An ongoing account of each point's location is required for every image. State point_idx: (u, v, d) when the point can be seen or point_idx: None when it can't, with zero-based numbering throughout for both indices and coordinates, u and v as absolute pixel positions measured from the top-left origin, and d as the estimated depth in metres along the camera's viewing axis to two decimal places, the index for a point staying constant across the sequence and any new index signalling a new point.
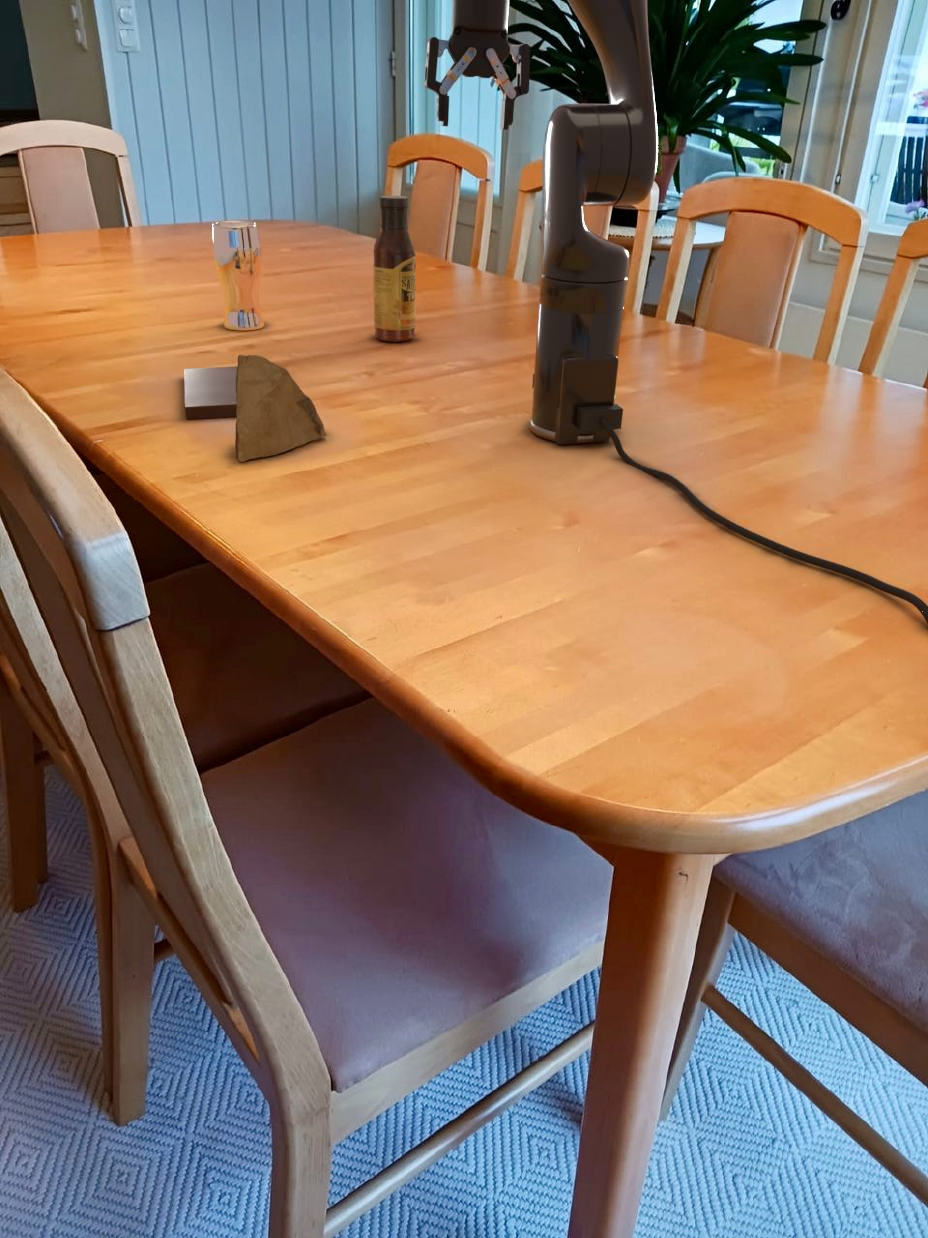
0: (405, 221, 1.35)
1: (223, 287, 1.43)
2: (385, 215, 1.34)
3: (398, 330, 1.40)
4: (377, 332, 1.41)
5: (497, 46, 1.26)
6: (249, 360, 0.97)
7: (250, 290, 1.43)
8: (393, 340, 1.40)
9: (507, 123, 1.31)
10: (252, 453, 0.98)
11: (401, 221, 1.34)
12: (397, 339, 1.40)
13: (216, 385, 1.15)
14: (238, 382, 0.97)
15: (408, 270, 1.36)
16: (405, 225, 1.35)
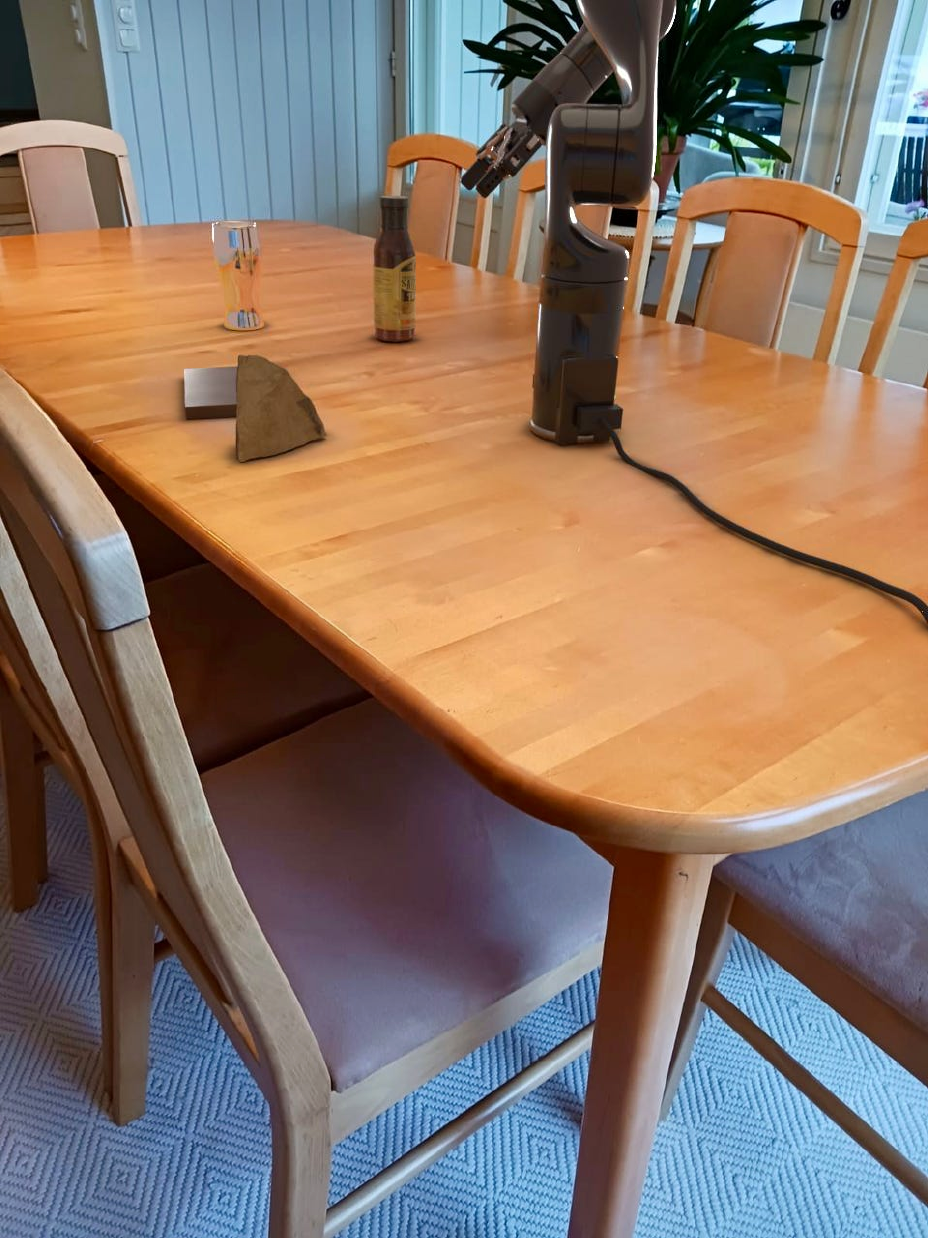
0: (405, 221, 1.35)
1: (223, 287, 1.43)
2: (385, 215, 1.34)
3: (398, 330, 1.40)
4: (377, 332, 1.41)
5: (519, 130, 1.31)
6: (249, 360, 0.97)
7: (250, 290, 1.43)
8: (393, 340, 1.40)
9: (478, 182, 1.31)
10: (252, 453, 0.98)
11: (401, 221, 1.34)
12: (397, 339, 1.40)
13: (216, 385, 1.15)
14: (238, 382, 0.97)
15: (408, 270, 1.36)
16: (405, 225, 1.35)
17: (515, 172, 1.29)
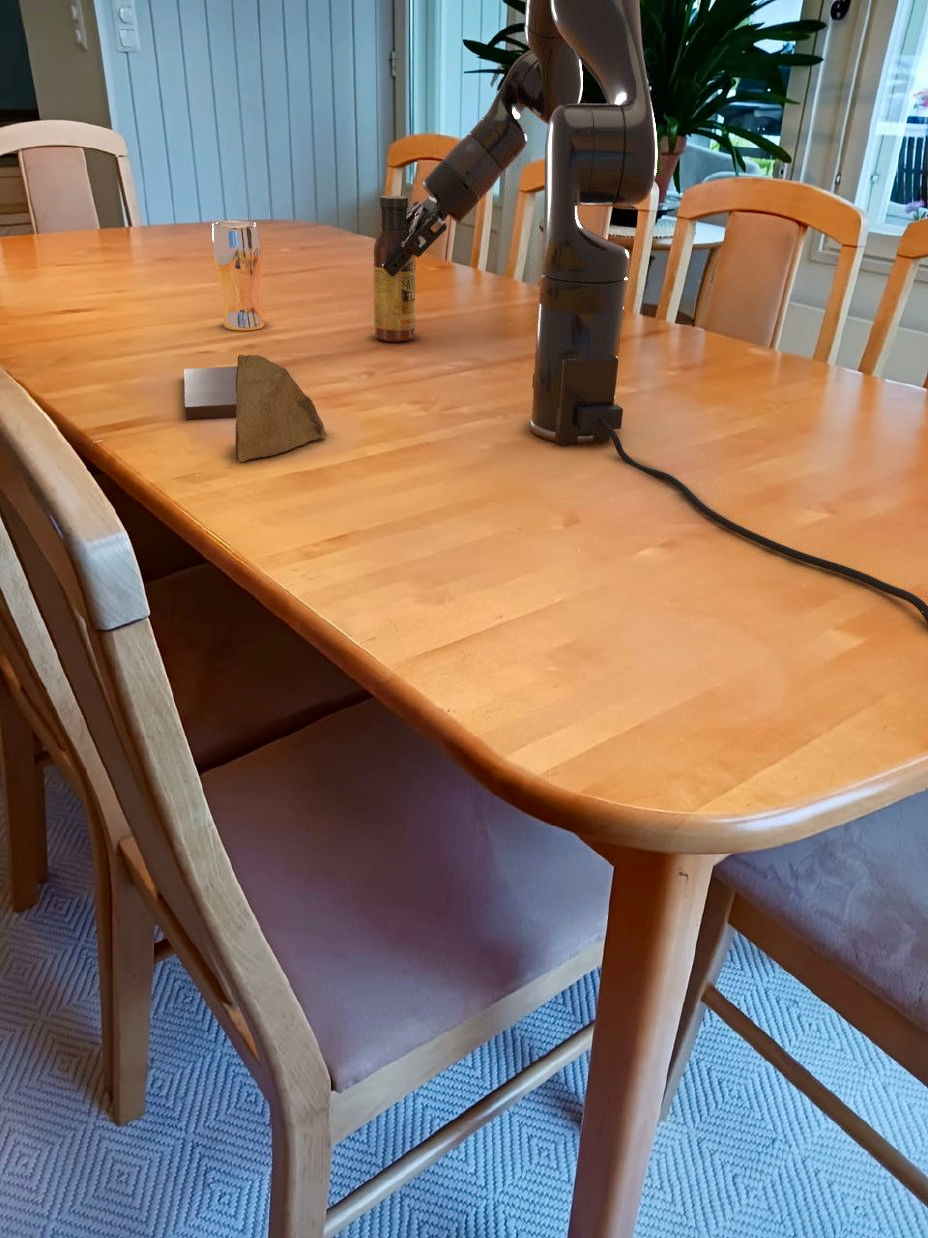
0: (405, 221, 1.35)
1: (223, 287, 1.43)
2: (385, 215, 1.34)
3: (398, 330, 1.40)
4: (377, 332, 1.41)
5: (430, 208, 1.33)
6: (249, 360, 0.97)
7: (250, 290, 1.43)
8: (393, 340, 1.40)
9: (385, 262, 1.34)
10: (252, 453, 0.98)
11: (401, 221, 1.34)
12: (397, 339, 1.40)
13: (216, 385, 1.15)
14: (238, 382, 0.97)
15: (408, 270, 1.36)
16: (405, 225, 1.35)
17: (419, 253, 1.32)
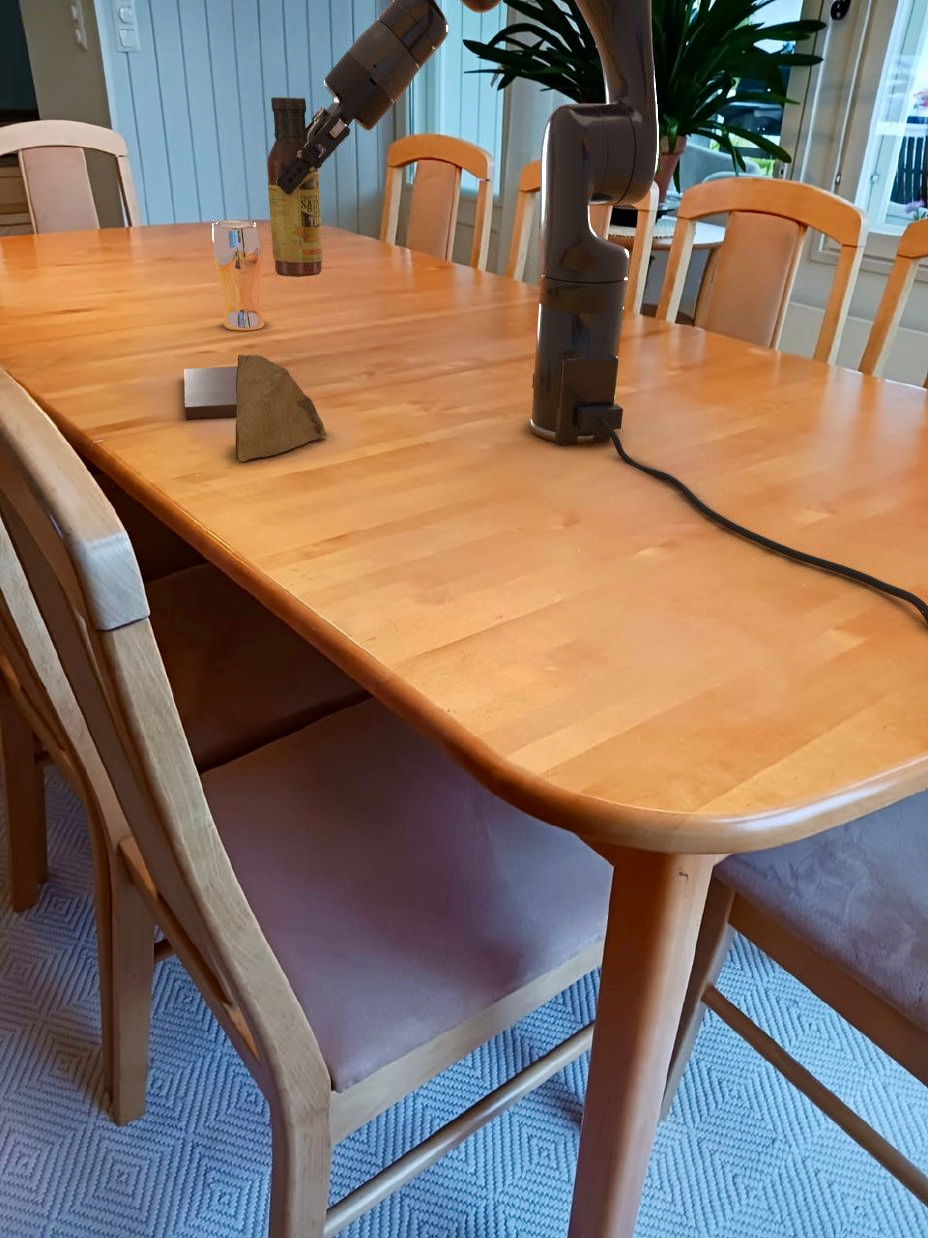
0: (303, 128, 1.12)
1: (223, 287, 1.43)
2: (277, 120, 1.11)
3: (300, 263, 1.17)
4: (276, 266, 1.18)
5: (332, 111, 1.10)
6: (249, 360, 0.97)
7: (250, 290, 1.43)
8: (294, 275, 1.17)
9: None
10: (252, 453, 0.98)
11: (297, 127, 1.11)
12: (299, 273, 1.17)
13: (216, 385, 1.15)
14: (238, 382, 0.97)
15: (309, 189, 1.13)
16: (303, 133, 1.12)
17: (318, 164, 1.09)
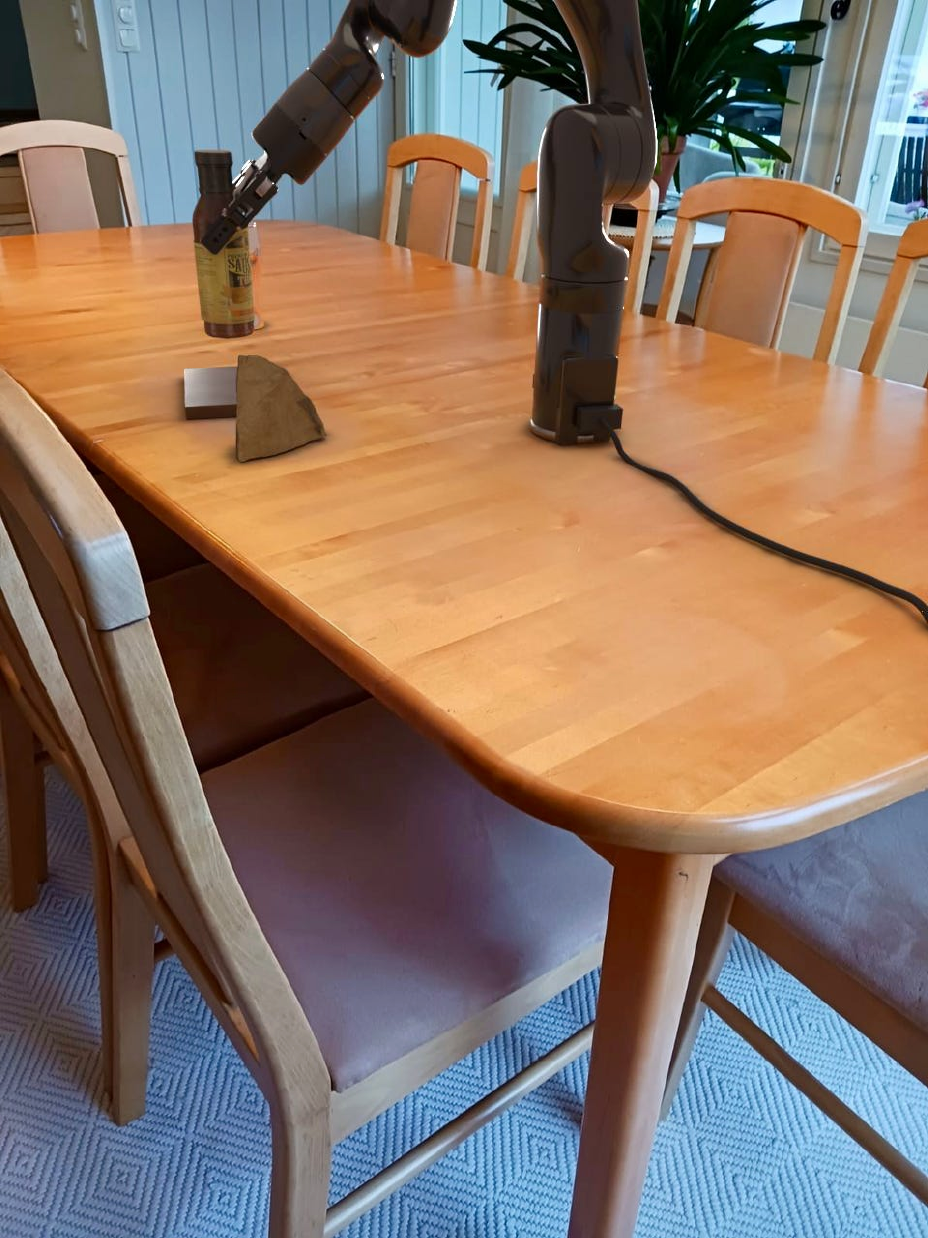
0: (229, 183, 1.04)
1: None
2: (201, 175, 1.03)
3: (229, 324, 1.10)
4: (205, 326, 1.11)
5: (260, 166, 1.03)
6: (249, 360, 0.97)
7: None
8: (224, 337, 1.10)
9: (203, 236, 1.04)
10: (252, 453, 0.98)
11: (222, 182, 1.04)
12: (229, 335, 1.10)
13: (216, 385, 1.15)
14: (238, 382, 0.97)
15: (237, 247, 1.06)
16: (229, 188, 1.04)
17: (244, 224, 1.02)
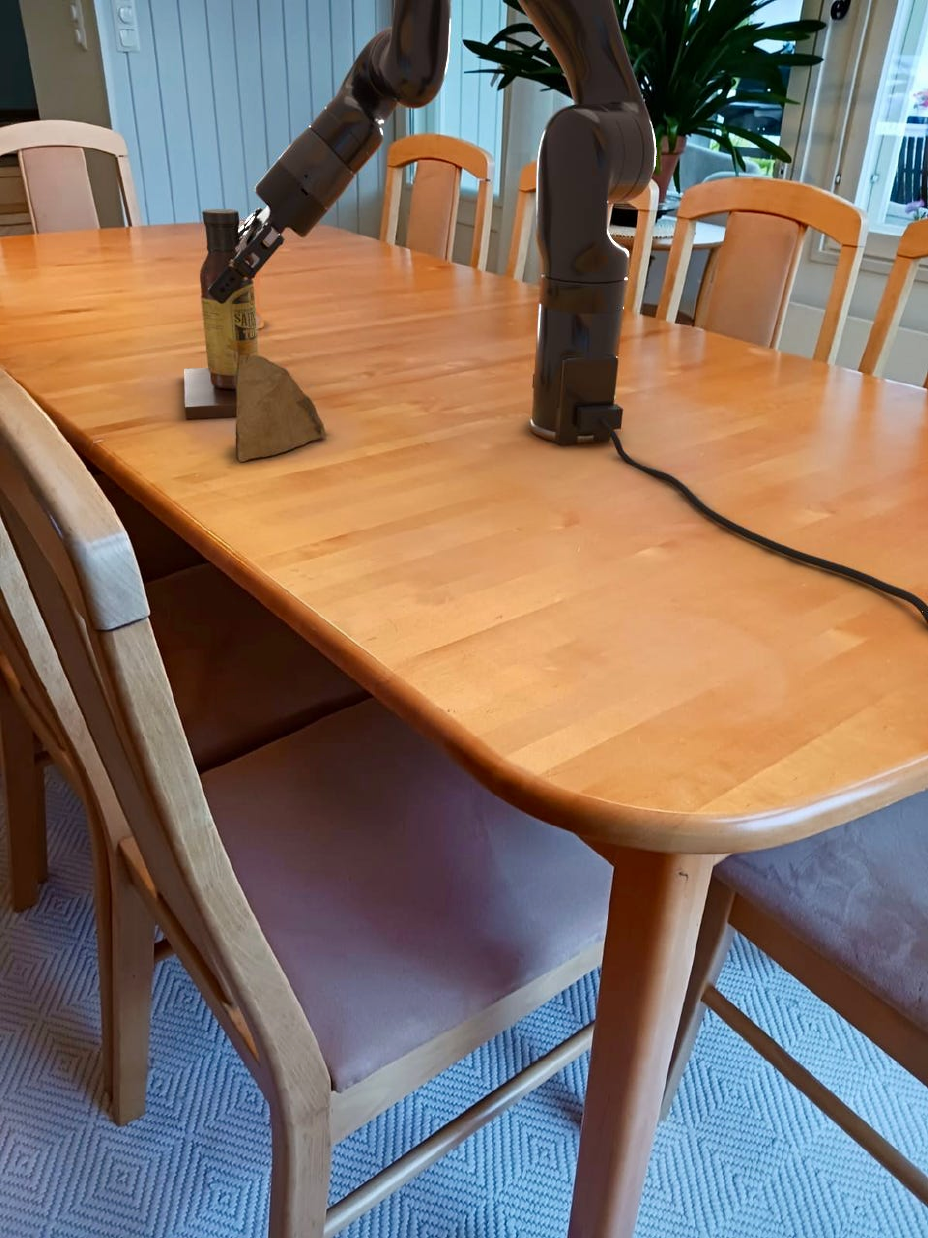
0: (236, 241, 1.08)
1: None
2: (209, 234, 1.07)
3: (235, 376, 1.13)
4: (211, 377, 1.14)
5: (262, 221, 1.06)
6: (249, 360, 0.97)
7: None
8: (230, 387, 1.13)
9: (210, 286, 1.06)
10: (252, 453, 0.98)
11: (229, 241, 1.07)
12: (235, 386, 1.13)
13: None
14: (238, 382, 0.97)
15: (243, 302, 1.09)
16: None
17: (252, 274, 1.04)
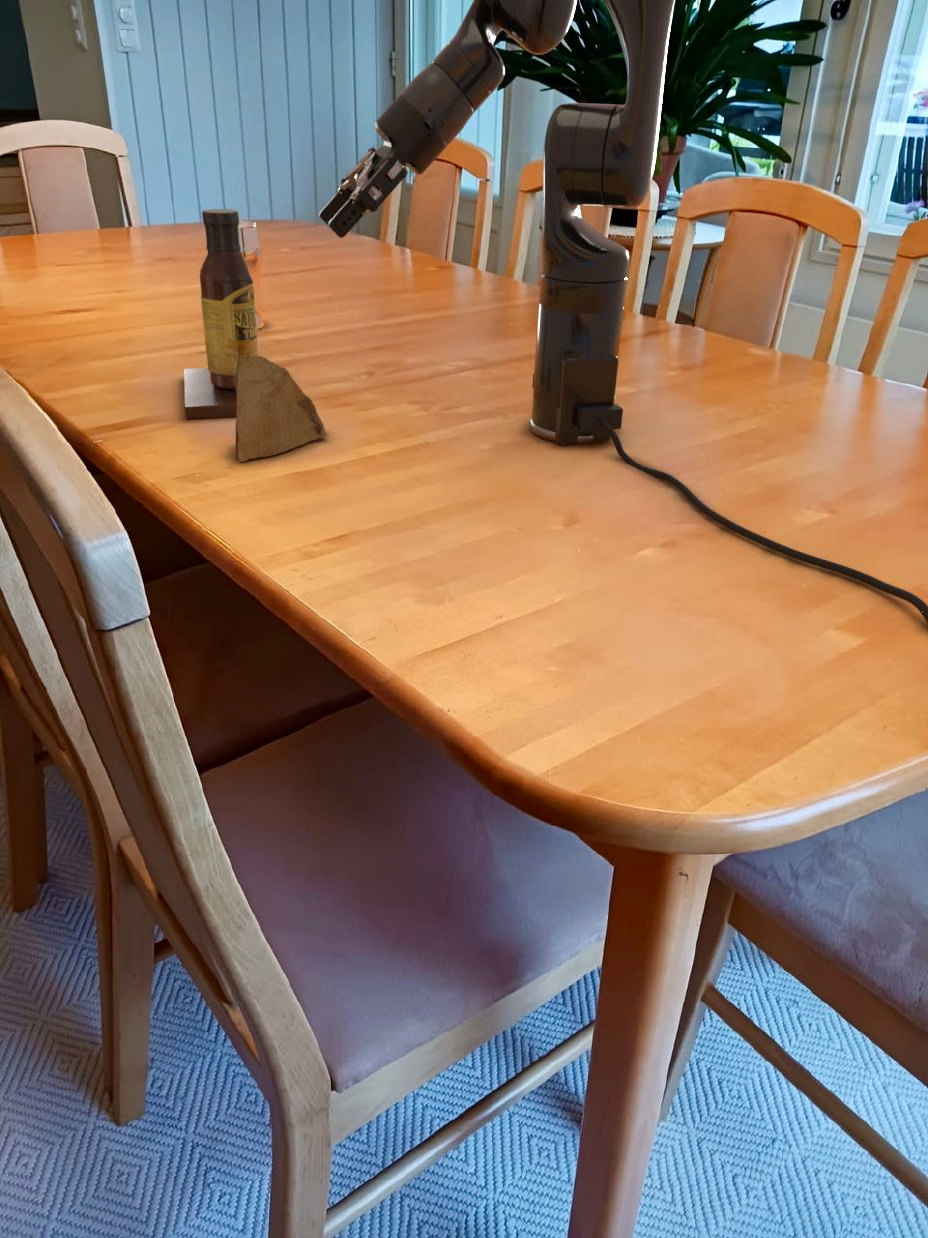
0: (236, 241, 1.08)
1: None
2: (209, 234, 1.07)
3: (235, 376, 1.13)
4: (211, 377, 1.14)
5: (383, 156, 1.07)
6: (249, 360, 0.97)
7: None
8: (230, 387, 1.13)
9: (331, 219, 1.06)
10: (252, 453, 0.98)
11: (229, 241, 1.07)
12: (235, 386, 1.13)
13: None
14: (238, 382, 0.97)
15: (243, 302, 1.09)
16: (236, 246, 1.08)
17: (375, 207, 1.04)
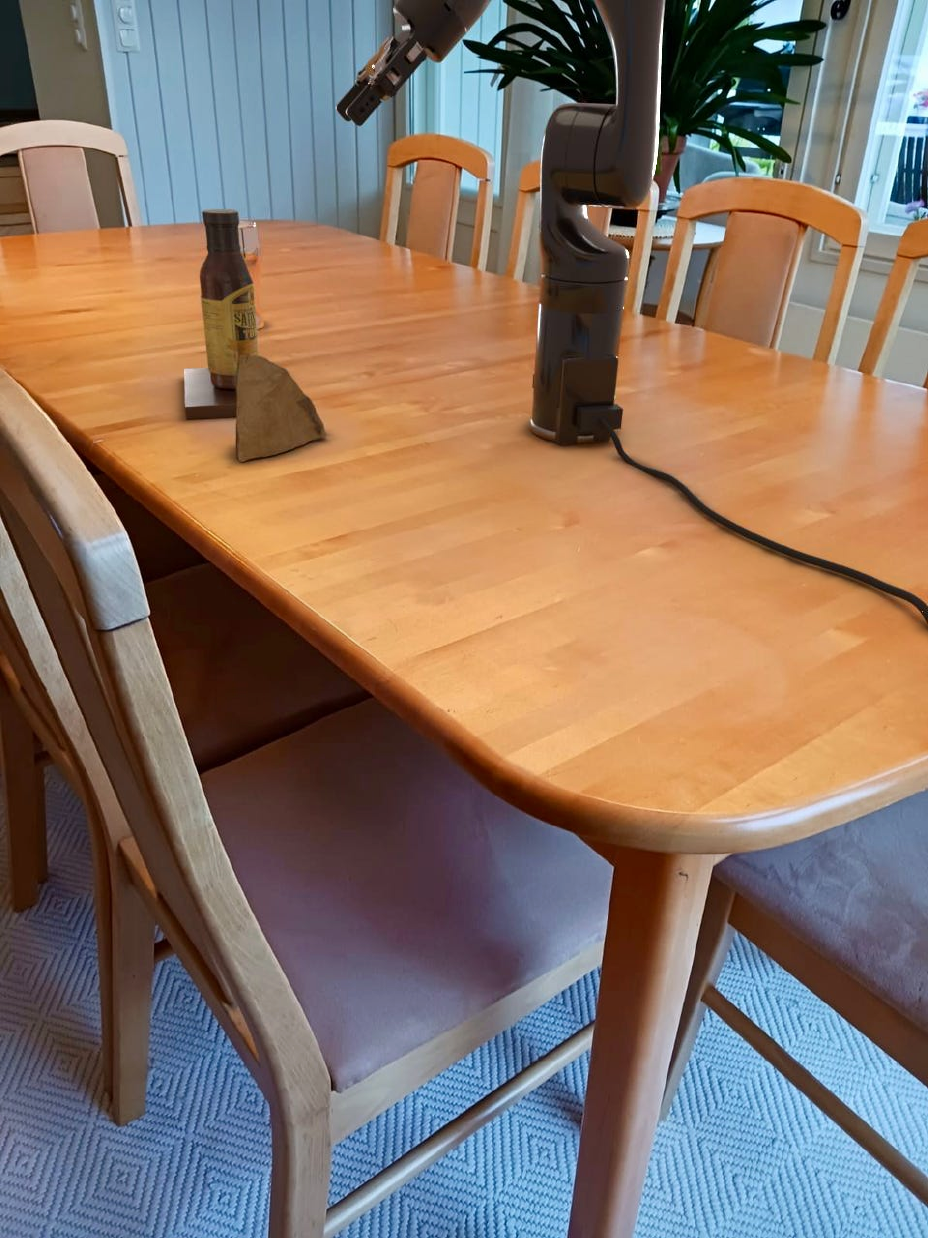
0: (236, 241, 1.08)
1: None
2: (209, 234, 1.07)
3: (235, 376, 1.13)
4: (211, 377, 1.14)
5: (402, 40, 1.04)
6: (249, 360, 0.97)
7: None
8: (230, 387, 1.13)
9: (349, 106, 1.04)
10: (252, 453, 0.98)
11: (229, 241, 1.07)
12: (235, 386, 1.13)
13: None
14: (238, 382, 0.97)
15: (243, 302, 1.09)
16: (236, 246, 1.08)
17: (394, 91, 1.02)
